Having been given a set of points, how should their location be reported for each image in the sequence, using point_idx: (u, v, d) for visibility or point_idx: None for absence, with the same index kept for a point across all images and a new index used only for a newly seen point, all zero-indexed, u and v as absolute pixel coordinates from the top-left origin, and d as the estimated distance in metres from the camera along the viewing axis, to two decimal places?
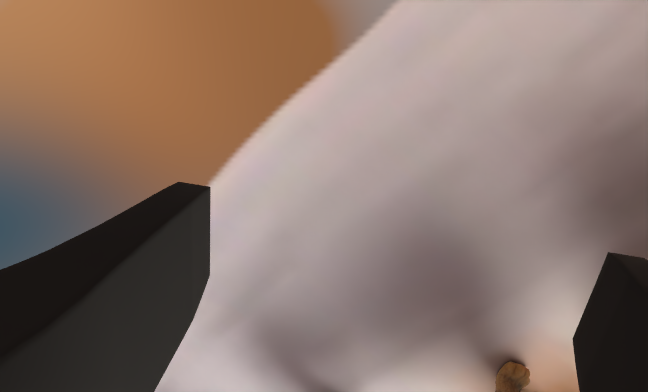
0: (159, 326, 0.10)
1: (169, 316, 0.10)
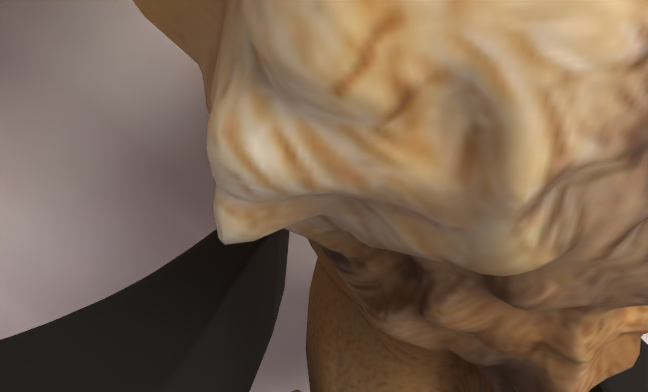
0: (251, 343, 0.10)
1: (258, 332, 0.10)
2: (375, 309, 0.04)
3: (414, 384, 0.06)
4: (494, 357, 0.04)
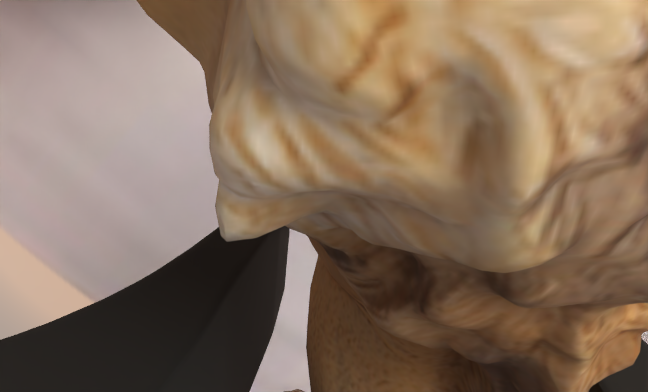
0: (251, 343, 0.10)
1: (258, 332, 0.10)
2: (376, 307, 0.04)
3: (415, 382, 0.06)
4: (495, 354, 0.04)
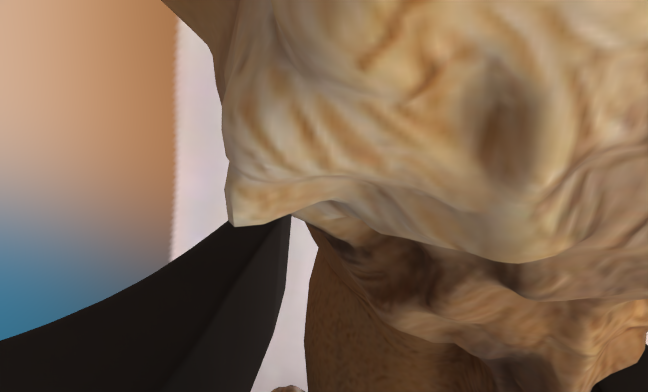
0: (252, 343, 0.10)
1: (259, 332, 0.10)
2: (380, 300, 0.04)
3: (414, 377, 0.06)
4: (499, 350, 0.04)
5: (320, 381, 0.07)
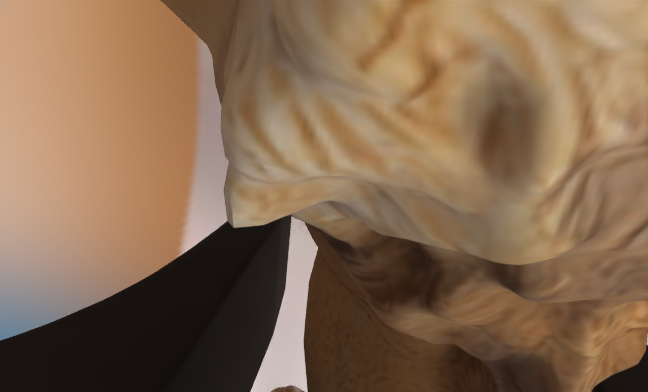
0: (252, 343, 0.10)
1: (259, 333, 0.10)
2: (380, 300, 0.04)
3: (415, 378, 0.06)
4: (499, 351, 0.04)
5: (320, 382, 0.07)
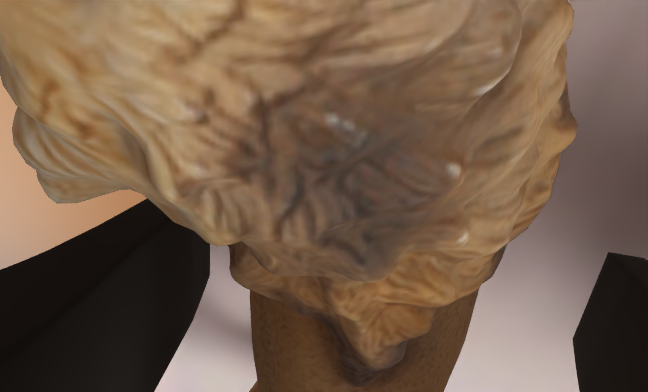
0: (159, 326, 0.10)
1: (169, 316, 0.10)
2: None
3: (303, 328, 0.07)
4: (308, 310, 0.05)
5: (253, 325, 0.08)
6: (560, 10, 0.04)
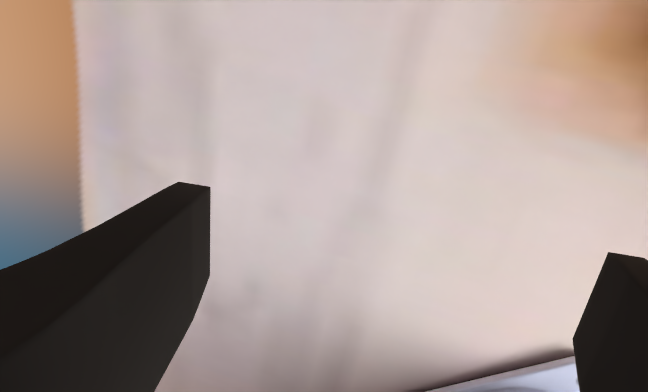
0: (159, 326, 0.10)
1: (169, 316, 0.10)
2: None
3: None
4: None
5: None
6: None
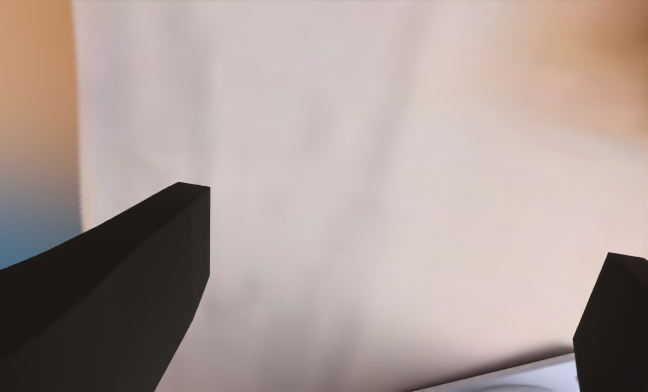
0: (159, 326, 0.10)
1: (169, 316, 0.10)
2: None
3: None
4: None
5: None
6: None
